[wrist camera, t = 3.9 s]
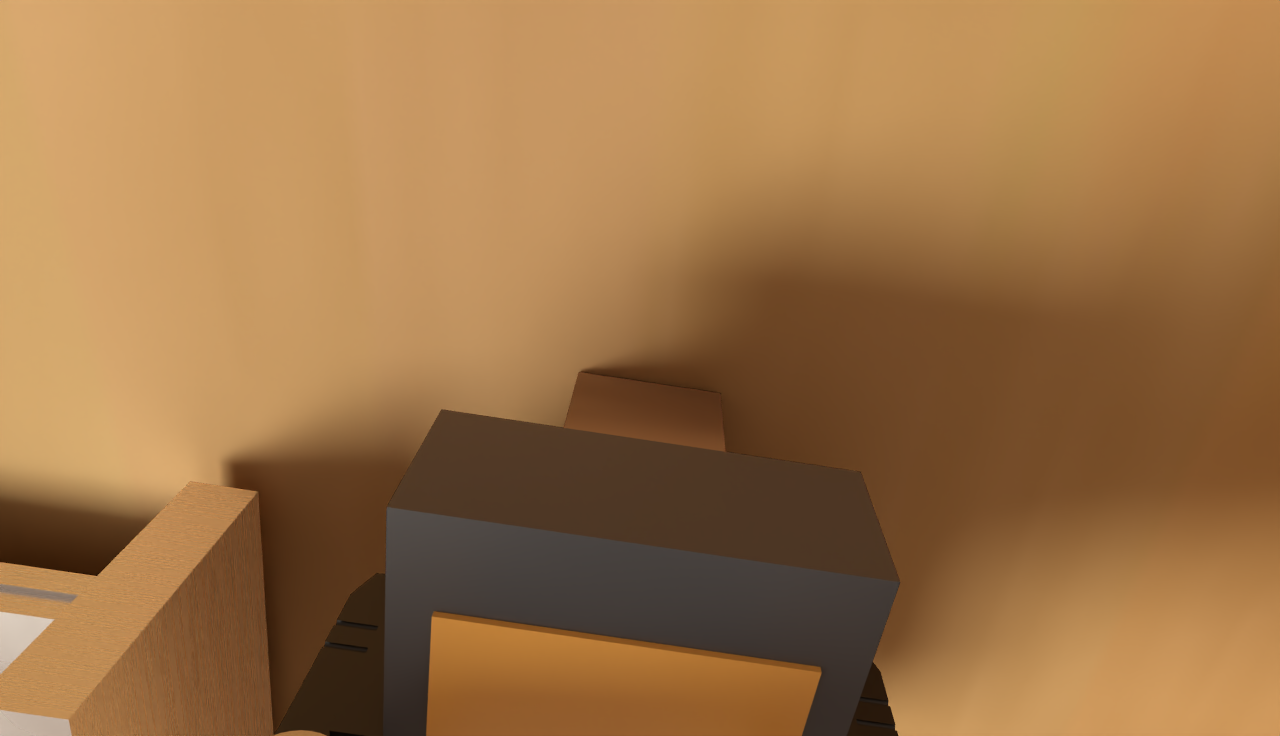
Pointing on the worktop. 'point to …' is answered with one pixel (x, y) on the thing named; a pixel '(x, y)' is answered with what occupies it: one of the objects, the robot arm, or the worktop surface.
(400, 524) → the block
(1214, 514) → the worktop surface
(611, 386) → the brown rectangular block
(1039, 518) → the worktop surface
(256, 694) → the tray
